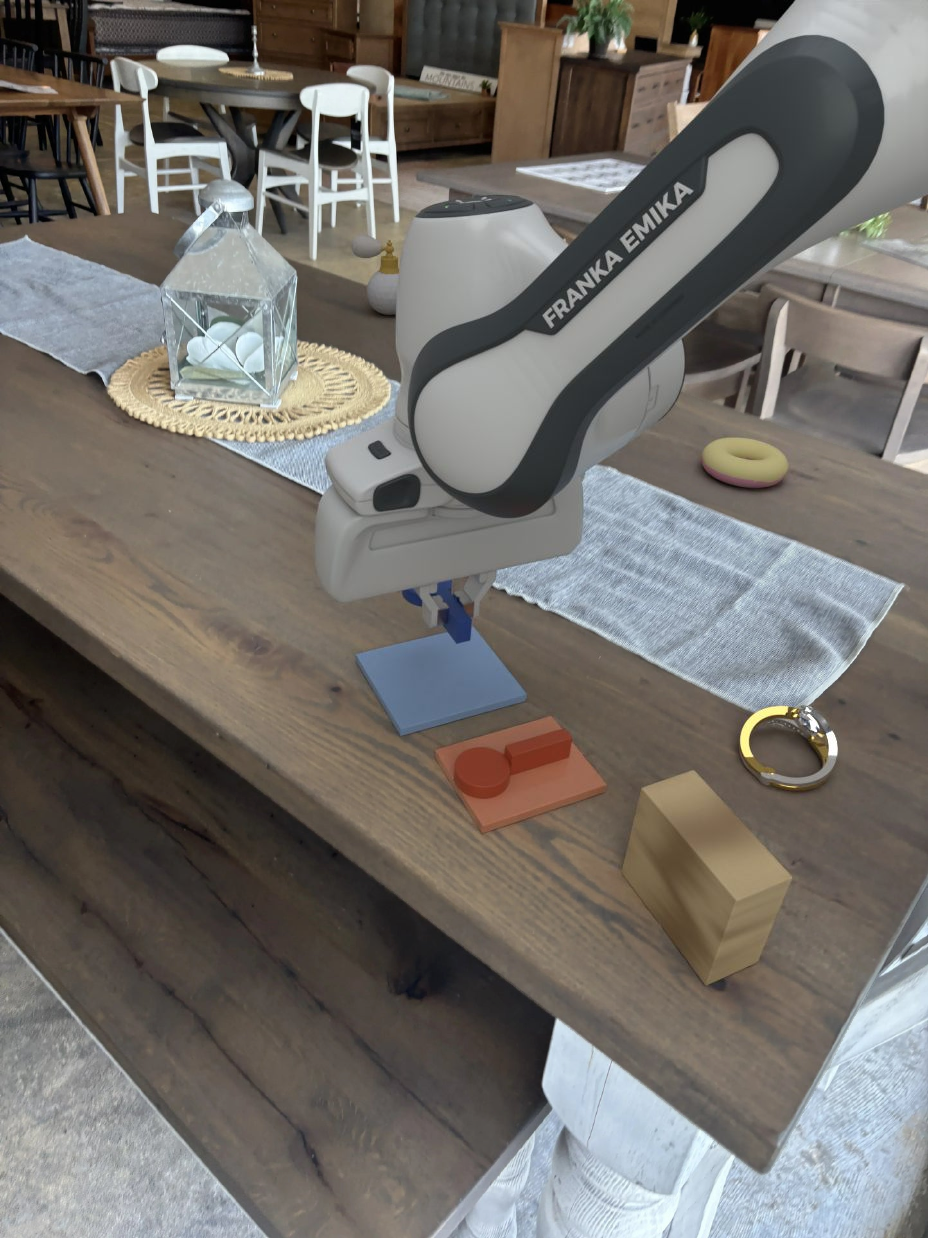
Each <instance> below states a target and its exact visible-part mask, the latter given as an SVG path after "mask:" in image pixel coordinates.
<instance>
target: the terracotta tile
mask: <svg viewBox="0 0 928 1238" xmlns="http://www.w3.org/2000/svg"><path fill="white" fill-rule="evenodd" d="M559 729H563V728H562V727H561V726H560V724H559V723H558V722H557V721H556V719H555V718H554V717H553V716H552V715H549V716H546V717H542V718H539V719H535V720H532V721H528V722H524V723H521V724H518V725H515V726H511V727H508V728H505V729H504V728H503V729H501V730H498V731H494V732H491V733H487V734H484V735H481V736H477V737H474V738H471V739H467V740H463V741H461V742H457V743H454V744H449V745H446V746H443V747H439V748H435V749H434V758H435V761H436V762H437V763H438V765H439V767H440V768H441V770H442V771H443V773H444V775H445V776H446V778H447V780H448V781H449V782H450V785H451V786H452V787H453V789H454V791H455V792H456V795H457V796H458V797H459V799H460V801H461V802H462V804H463V805H464V807H465V808H466V811H468V813H469V815H470V817H471V818H472V820H473V821H474V823H475V824H476V826H477V828H478V830H479V831H480V833H481V834H485V833H489V832H491V831H495V830H497V829H501V828H502V827H503V828H504V827H507V826H510V825H512V824H515V823H518V822H521V821H524V820H527V819H530V818H533V817H536V816H539V815H541V814H544V813H547V812H550V811H553V810H557V809H559V808H562V807H565V806H569V805H571V804H574V803H577V802H580V801H583V800H586V799H589V798H591V797H595V796H599V795H601V794H604V793H606V791H607V783H606V782H605V780H604V779H603V778H602V777H601V775H600V774H599V773H598V772H597V770H596V769H595V768H594V766H592V764H591V763H590V762H589V760H588V759H587V758H586V757H585V755H584V754H583V753H582V752H581V751H580V749H579V748H578V747H577V745H576V744H575V743H574V742H573V741H572V744H571V750H570V756H569V757H568V758H565V759H562V760H559V761H556V762H552V763H549V764H546V765H543V766H540V767H536V768H533V769H530V770H527V771H524V772H520V773H517V774H514V775H510V780H509V784H508V787H507V788H506V790H505V791H504V792H503V793H501V794H500V795H498V796H495V797H492V798H486V799H481V798H474V797H471V796H468V795H466V794H465V793H463V792H462V791H461V790H460V789H459V788H458V787H457V786H456V784H455V781H454V765H455V761H456V759H457V757H458V756H459V755H460V754H461V753H462V752H464V751H466V750H468V749H471V748H476V747H485V748H491V749H494V750H496V751H498V752H500V753H501V754H503V755H504V751H505V746H506V745H509V744H512V743H516V742H519V741H522V740H526V739H529V738H533V737H536V736H539V735H543V734H546V733H549V732H553V731H556V730H559Z"/></svg>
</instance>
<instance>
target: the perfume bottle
mask: <svg viewBox="0 0 928 1238" xmlns="http://www.w3.org/2000/svg"><path fill="white" fill-rule="evenodd" d="M350 248H351V251H352V253H353V255H354V256H356V257H358V258H361V259H371V258H375V257H377V256H379V255H381V253H382V252H384V251H385V252H386V254H385V255H381V256H380V267H379V270H377V271H376V272H375V273H373V274H372V276H371V277H370V278H369V280H368V283H367V285H366V296H367V300H368V303H369V305H370V306H371V308H372V309H373V310H374V311H375V312H377V313H378V314H382V315H384V316H385V315H386V316H396V303H397V286H398V274H399V257H398V256H396V255H394V254H393V253H394V252H395V248H394V246H393V242H392V240H391V239H388V241H387V242H386V246H383V244H382V243H381V242H380V241H379V240H378V239H377V238H374V237H373V236H370V235H366V234H358V235H356V236H355V237H354V238H353V239H352V241H351V243H350Z"/></svg>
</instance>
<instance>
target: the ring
mask: <svg viewBox="0 0 928 1238" xmlns="http://www.w3.org/2000/svg"><path fill="white" fill-rule="evenodd" d="M770 724H777V725H782V726H783V727H787V728H788V729H791V730H792V731H793V732H796V733H797V734H798V735H801V736H802V738H804V739H806V740H807V741H808V744H810V745H811V746H812V748H813V749H814V750H815V752H816V753H817V755H818V757H819V759H820V761H821V765H822V767H821V769H820V770H819V771H817V772H816V773H814V774H811V775H808V776H802V777H792V776H791V777H790V776H785V775H781V774H778V773H777V772H776V770H775V769H774V768H772V767H770V766H763V765H762V764H761V763H760V762H759V761H757V759H756V758H755V756H754V755H753V753H752V751H751V748H750V737H751V735H752V734H753V733H754V732H755V731H756V730H758V729H759V728H761V727H763V726H766V725H770ZM832 729H833V728H832V727H831V726H830V724H829V723H828V721H827V720H826V719H825V718H824V717H823V715H822V714H821V713H820V712H819V711H818V710H816V709H815V708H813V707H812V706H809V705H805V704H802V705H801V704H800V705H798V706H795V707H794V706H787V705H786V706H785V705H775V706H768V707H765V708H763V709H760V710H758V711H756V712H755V713H753V714H752V715H751V716H749V718H748V719H747V720H746V721H745V723H744V725H743V727H742V729H741V732H740V737H739V742H738V743H739V744H738V750H739V755H740V759H741V761H742V763H743V765H744V766H745V768H746V769H747V770H748V771H749V772H750V773H751V774H752V775H753V776H754V777H756V778H757V779H758V782H759V783H760V784H761V785H763V786H766V787H770V786H772V787H775V788H778V789H781V790H786V791H791V792H793V791H795V792H801V791H802V792H803V791H808V790H809V791H810V790H813V789H816V788H818V787H820V786H822V785H824V784H825V783H826V782H827V781H828V780H829V779H830V777H831V776H832V773H833V770H834V768H835V765H836V763H837V762H836V761H837V757H838V742H837V738H836V735H835V733H834V731H833V730H832ZM818 737H820V738H822V739H823V738H824V740H825V743H824V742H823V741H822V740H821V739H819V738H818Z"/></svg>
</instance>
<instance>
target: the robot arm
mask: <svg viewBox="0 0 928 1238" xmlns="http://www.w3.org/2000/svg"><path fill="white" fill-rule="evenodd" d="M925 196H928V0H794V1H793V3H792V4H791V5H790V6H789V7H788V9H786V11H785V12H784V13H783V14H782V15H781V17H779V19H778V21H776V23H774V25H773V26H772V27H771V29H770V30H769V31H768V32H767V33H766V34H765V35H764V37H763V38H762V39H761V40H760V41H759V42H758V44H757V45H756V46H755V47H754V48H753V49H752V50H751V51H750V52H749V54H748V55H747V56H746V57H745V58H744V59H743V60H742V62H741V63H740V64H739V65H738V67H737V68H736V69H735V70H734V71H733V72H732V73H731V75H730V76H729V77H728V78H727V80H726V81H725V82H724V84H722V86H721V87H720V88H719V89H718V90H717V91H716V93H715V94H714V95H713V97H712V98H711V99H710V100H709V101H708V103H707V104H706V105H705V106H704V107H703V108H702V109H701V110H700V111H699V113H697V115H695V116H694V117H693V118H692V119H691V121H690V122H689V123H687V124H686V125H685V127H684V128H682V130H680V132H679V133H678V134H676V136H675V137H674V138H673V139H671V141H670V142H668V144H667V145H666V146H665V147H663V149H662V150H661V151H660V152H658V154H657V155H655V157H654V158H653V159H651V160H650V162H648V163H647V165H646V166H645V167H644V168H643V169H641V171H639V173H638V174H636V176H635V177H634V178H633V179H632V180H631V181H630V182H629V183H628V184H627V185H626V186H625V187H624V188H623V189H622V190H621V191H620V192H618V194H617V195H616V196H615V197H614V198H613V200H611V201H610V202H609V203H608V204H607V205H606V206H605V207H604V208H603V210H601V212H600V213H599V214H598V215H597V216H595V218H594V219H593V220H592V221H591V222H590V223H589V224H588V225H587V226H586V227H585V228H584V229H583V230H581V232H580V233H579V234H578V235H577V236H576V237H575V238H574V239H573V240H572V241H571V242H570V243H568V242H566V241H565V240H564V239H563V237H561V235H559V234H558V233H557V232H556V231H555V230H554V229H553V227H552V225H551V224H550V222H549V221H548V219H547V218H546V216H545V214H544V213H543V211H542V209H541V208H540V206H538V205H537V204H536V203H535V202H533V201H532V200H530V199H526V198H524V197H521V196H518V195H513V194H509V195H508V194H488V195H486V194H485V195H476V196H472V197H466V198H462V197H461V198H455V199H450V200H444V201H441V202H437V203H434V204H431V205H428V206H426V207H424V208H422V209H421V210H419V212H418V213H417V214H416V215H415V216H413V218H412V219H411V221H410V223H409V226H408V228H407V230H406V233H405V237H404V240H403V244H402V249H401V253H400V260H399V266H398V268H399V274H398V286H397V303H396V315H395V349H396V355H397V358H398V361H399V365H400V373H401V379H400V385H399V389H398V392H397V396H396V398H395V405H394V415H392V416H391V417H390V418H387V419H386V420H384V421H382V422H381V423H379V424H377V425H375V426H373V427H372V428H370V429H367V430H366V431H364V432H360V433H359V434H357V435H354V436H353V437H351V438H348V439H346V440H343V441H342V442H340V443H338V444H335V445H334V446H332V447H330V448H329V449H328V450H327V452H325V453H326V454H325V456H324V465H325V470H326V473H327V475H328V477H329V480H330V482H331V485H329V486H328V487H327V489H325V491H324V492H323V494H322V495H321V498H320V500H319V503H318V506H317V510H316V517H315V525H314V541H313V543H314V546H313V557H314V559H313V561H314V571H315V575H316V578H317V579H318V581H319V584H320V585H321V587H322V588H323V590H324V591H325V593H326V594H327V595H329V597H330V598H332V599H333V600H334V601H336V602H337V603H339V604H346V603H350V602H354V601H360V600H366V599H369V598H374V597H379V596H384V595H387V594H388V595H389V594H393V593H398V592H402V590H407V589H412V588H414V590H415V591H416V593H417V594H418V596H419V597H420V598H421V600H422V607H421V617H422V621H424V623H425V624H426V625H427V627H428V628H429V629H433V628H437V627H440V626H443V625H445V624H447V623H448V618H447V617H448V615H449V606H448V605H447V604H446V603H445V602H443V599H442V597H441V596H440V595H437V596H432V597H431V596H430V593H431V594H432V593H436V592H437V583H439V582H444V581H449V580H452V581H453V580H457V579H462V578H463V579H464V578H467V577H468V579H467V580H466V583H465V584H464V586H463V588H462V589H459V590H455V591H452V595H453V596H454V598H455V599H456V600H457V601H458V602H459V604H460V605H461V606H462V608H463V609H464V610H465V611H466V613H467V614H468V615H469V616H470V618H471V619H475V618H478V617H479V616H480V610H481V608H480V607H481V601H482V600H483V599H484V598H485V596H486V595H487V593H488V592H489V590H490V589H491V587H492V586H493V584H494V583H495V582H496V580H497V571H499V570H504V569H508V568H513V567H519V566H523V565H528V564H531V563H537V562H541V561H545V560H550V559H554V558H559V557H565V556H568V555H571V554H572V553H573V552H574V551H575V550H576V549H577V547H578V546H579V544H580V543H581V541H582V537H583V530H584V512H585V511H584V505H585V504H584V501H585V499H584V486H583V485H584V484H583V482H584V479H585V476H586V472H588V471H589V470H591V469H592V468H593V467H595V466H596V465H598V464H599V463H601V462H603V461H604V460H606V459H607V458H609V457H611V456H612V455H613V454H615V453H617V451H619V450H620V449H622V448H623V447H625V446H627V445H628V444H629V443H631V442H632V441H634V440H635V439H637V438H638V437H639V436H641V435H642V434H644V433H645V432H648V431H649V429H651V428H652V427H653V426H654V425H655V424H657V423H658V422H660V421H661V420H662V419H664V417H666V416H667V415H668V414H669V412H670V411H671V410H672V409H673V408H674V406H675V404H676V402H677V401H678V399H679V397H680V394H681V393H682V390H683V387H684V383H685V378H686V372H687V371H686V370H687V352H686V351H687V350H686V346H685V345H686V344H685V340H684V337H686V336H687V335H688V334H689V333H690V332H692V331H693V330H694V329H695V328H697V326H699V325H700V324H701V323H702V322H704V321H705V320H706V319H707V318H709V316H711V315H712V314H714V313H715V311H716V310H718V309H719V308H720V307H722V306H723V304H725V303H726V302H727V301H728V300H730V299H731V298H732V297H733V296H735V295H736V294H738V293H739V291H741V290H743V289H745V287H746V286H748V285H750V284H751V283H752V282H754V281H756V280H757V279H758V278H760V277H762V276H763V275H764V274H766V273H768V272H769V271H771V270H773V269H774V268H777V266H779V265H781V264H783V263H784V262H786V261H788V260H790V259H791V258H794V257H795V256H797V255H798V254H799V255H800V254H801V253H802V252H804V251H806V250H808V249H810V248H812V247H814V246H816V245H818V244H821V243H822V242H824V241H827V240H829V239H831V238H833V237H835V236H837V235H840V234H841V233H843V232H846V231H848V230H850V229H853V228H854V227H856V226H859V225H862V224H863V223H866V222H868V221H870V220H873V219H875V218H877V217H880V216H883V215H884V214H887V213H889V212H891V211H894V210H896V209H898V208H900V207H904V206H906V205H908V204H910V203H912V202H915V201H917V200H919V199H921V198H924V197H925Z"/></svg>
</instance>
